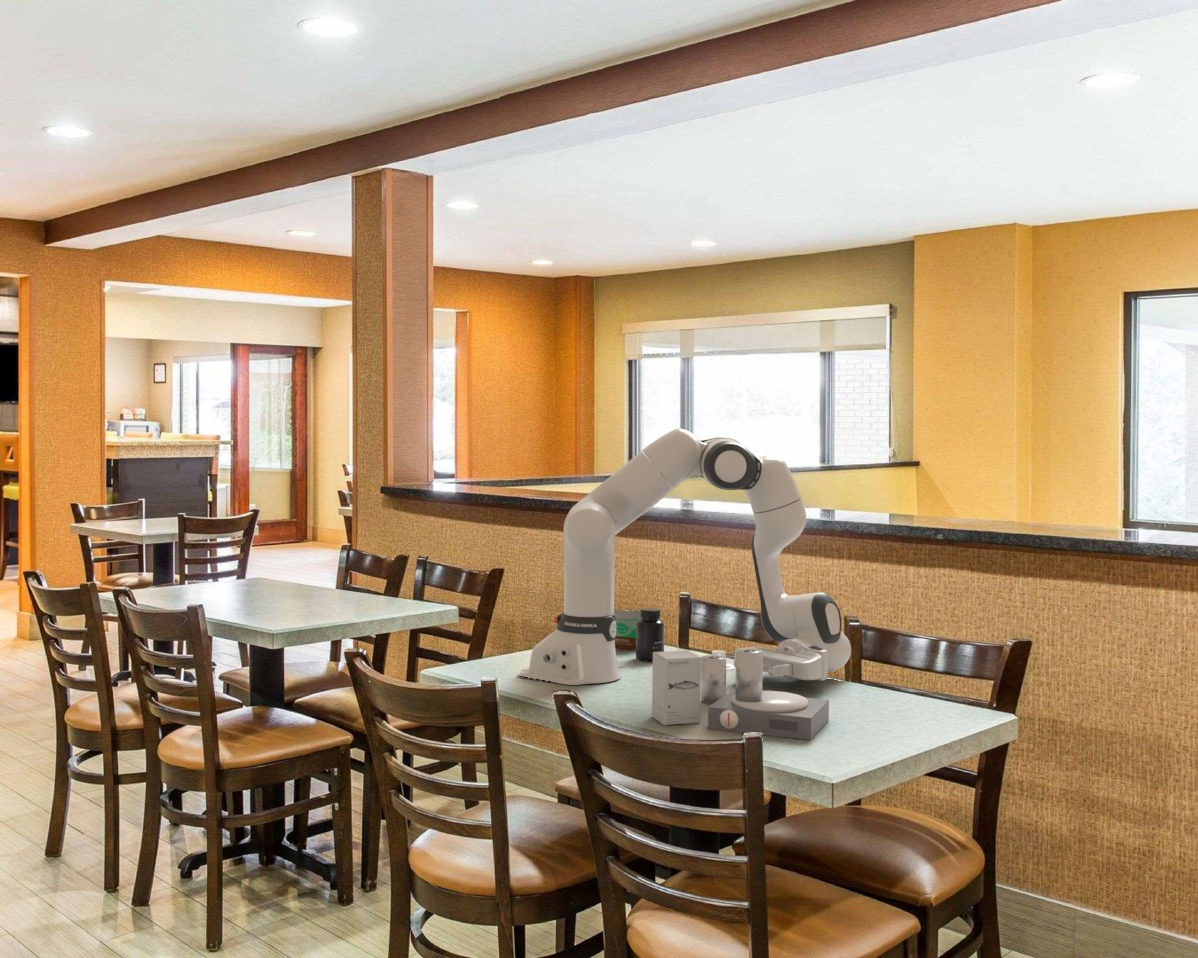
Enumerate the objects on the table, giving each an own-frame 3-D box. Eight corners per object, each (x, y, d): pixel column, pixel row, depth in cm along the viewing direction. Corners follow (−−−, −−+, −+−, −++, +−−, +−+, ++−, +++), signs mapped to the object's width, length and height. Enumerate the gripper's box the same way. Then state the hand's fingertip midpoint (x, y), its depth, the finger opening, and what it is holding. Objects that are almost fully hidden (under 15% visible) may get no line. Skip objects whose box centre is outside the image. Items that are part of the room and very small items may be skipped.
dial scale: (707, 728, 208) (707, 702, 207) (731, 710, 222) (732, 686, 221) (810, 740, 200) (810, 713, 200) (828, 720, 214) (829, 695, 214)
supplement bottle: (661, 662, 268) (662, 612, 267) (633, 661, 269) (633, 610, 269) (666, 657, 274) (666, 607, 274) (638, 655, 276) (638, 606, 275)
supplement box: (664, 726, 209) (664, 658, 209) (651, 716, 216) (651, 650, 216) (701, 723, 211) (702, 656, 211) (687, 714, 219) (688, 649, 218)
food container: (599, 649, 284) (599, 609, 284) (607, 644, 290) (607, 605, 289) (646, 652, 280) (647, 612, 280) (653, 648, 286) (654, 608, 285)
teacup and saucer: (707, 663, 269) (707, 646, 269) (739, 666, 266) (740, 648, 266) (696, 670, 261) (696, 652, 261) (730, 673, 258) (730, 655, 258)
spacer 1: (697, 703, 228) (698, 658, 227) (705, 697, 232) (705, 654, 232) (721, 705, 226) (722, 660, 225) (728, 700, 230) (729, 656, 230)
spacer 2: (732, 700, 209) (732, 652, 209) (739, 695, 214) (740, 647, 214) (758, 703, 207) (759, 654, 207) (765, 697, 212) (766, 649, 212)
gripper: (758, 637, 254) (716, 645, 244) (833, 651, 238) (791, 659, 229) (758, 665, 254) (716, 674, 245) (833, 681, 239) (791, 690, 229)
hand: (753, 667), depth 237 cm, fingers open, 8 cm apart
